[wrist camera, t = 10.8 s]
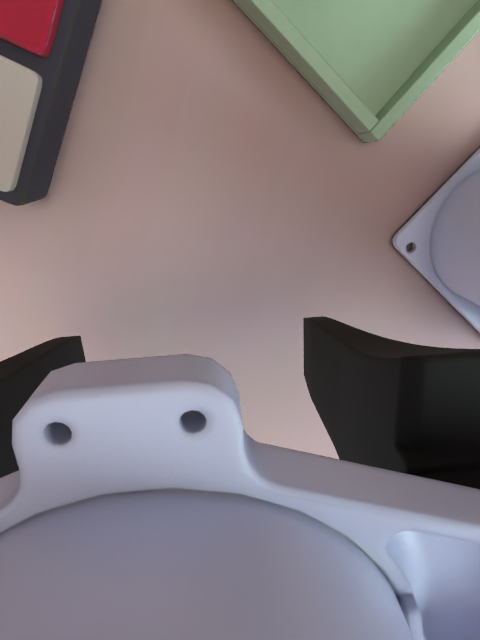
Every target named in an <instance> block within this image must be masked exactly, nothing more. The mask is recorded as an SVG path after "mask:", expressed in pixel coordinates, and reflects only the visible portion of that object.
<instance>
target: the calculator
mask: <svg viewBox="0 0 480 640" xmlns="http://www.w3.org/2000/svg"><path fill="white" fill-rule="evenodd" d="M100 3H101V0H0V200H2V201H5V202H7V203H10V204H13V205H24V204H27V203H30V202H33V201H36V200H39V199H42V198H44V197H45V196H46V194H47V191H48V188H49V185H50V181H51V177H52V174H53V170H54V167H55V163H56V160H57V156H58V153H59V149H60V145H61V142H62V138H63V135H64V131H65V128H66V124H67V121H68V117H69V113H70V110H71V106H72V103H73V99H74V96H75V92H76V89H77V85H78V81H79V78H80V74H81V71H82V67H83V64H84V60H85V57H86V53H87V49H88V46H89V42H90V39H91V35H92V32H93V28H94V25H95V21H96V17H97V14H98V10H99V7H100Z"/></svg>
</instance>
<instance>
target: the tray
mask: <svg viewBox="0 0 480 640" xmlns="http://www.w3.org/2000/svg"><path fill="white" fill-rule="evenodd" d="M233 1H234V2H235V3H236V5H237V6H238V7H239V8H240V9H241V10H242V11H243V12H244V13H245V14H246V15H247V16H248V18H249V19H250V20H251V21H252V22H253V23H254V24H255V25H256V26H257V27H258V28H259V29H260V31H261V32H262V33H263V34H264V35H265V36H266V37H267V38H268V39H269V40H270V41H271V42H272V44H273V45H274V46H275V47H276V48H277V49H278V50H279V51H280V52H281V53H282V54H283V55H284V57H285V58H286V59H287V60H288V61H289V62H290V63H291V64H292V65H293V66H294V67H295V68H296V70H297V71H298V72H299V73H300V74H301V75H302V76H303V77H304V78H305V79H306V80H307V81H308V83H309V84H310V85H311V86H312V87H313V88H314V89H315V90H316V91H317V92H318V93H319V94H320V96H321V97H322V98H323V99H324V100H325V101H326V102H327V103H328V104H329V105H330V106H331V107H332V109H333V110H334V111H335V112H336V113H337V114H338V115H339V116H340V117H341V118H342V119H343V120H344V122H345V123H346V124H347V125H348V126H349V127H350V128H351V129H352V130H353V131H354V132H355V133H356V135H357V136H358V137H359V138H360V139H361V140H362V141H363V142H364V143H367V142H374V141H379V140H380V139H381V138H382V137H383V136H384V135H385V134H386V133H387V132H388V130H389V129H390V128H391V127H392V126H393V125H394V124H395V123H396V122H397V121H398V119H399V118H400V117H401V116H402V115H403V114H404V113H405V112H406V111H407V110H408V108H409V107H410V106H411V105H412V104H413V103H414V102H415V101H416V100H417V99H418V97H419V96H420V95H421V94H422V93H423V92H424V91H425V90H426V89H427V87H428V86H429V85H430V84H431V83H432V82H433V81H434V80H435V79H436V78H437V76H438V75H439V74H440V73H441V72H442V71H443V70H444V69H445V68H446V67H447V65H448V64H449V63H450V62H451V61H452V60H453V59H454V58H455V57H456V56H457V54H458V53H459V52H460V51H461V50H462V49H463V48H464V47H465V46H466V44H467V43H468V42H469V41H470V40H471V39H472V38H473V37H474V36H475V35H476V33H477V32H478V31H479V30H480V0H233Z"/></svg>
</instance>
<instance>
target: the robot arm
mask: <svg viewBox="0 0 480 640" xmlns="http://www.w3.org/2000/svg"><path fill="white" fill-rule="evenodd" d="M409 243H412V244H413V246H412V249H411V250H409V251H407V250H406V246H407V245H408V244H409ZM393 245H394V247H395V248H396V249H397V250H398V251H399V252H400V253H401V254H402V255H403V256H404V257H405V258H406V259H407V260H408V261H409V262H410V263H411V264H412V265H413V266H414V267H415V268H416V269H417V270H418V271H419V272H420V273H421V274H422V275H423V276H424V277H425V278H426V279H427V280H428V281H429V282H430V283H431V284H432V285H433V286H434V287H435V288H436V289H437V290H438V291H439V292H440V293H441V294H442V296H443V297H444V298H445V299H446V300H447V301H448V302H449V303H450V304H451V305H452V306H453V307H454V308H455V309H456V310H457V311H458V312H459V313H460V314H461V315H462V316H463V317H464V318H465V319H466V320H467V321H468V322H469V323H470V324H471V325H472V326H473V327H474V328H475V329H476V330H477V331H478V332H479V333H480V148H479V149H478V150H477V151H476V152H475V153H474V154H473V155H472V156H471V157H470V158H469V159H468V160H467V161H466V162H465V163H464V164H463V165H462V166H461V168H460V169H459V170H458V171H457V172H456V173H455V174H454V175H453V176H452V177H451V178H450V179H449V180H448V181H447V182H446V183H445V184H444V185H443V186H442V187H441V188H440V189H439V190H438V191H437V192H436V193H435V194H434V195H433V196H432V197H431V198H430V199H429V200H428V201H427V202H426V203H425V204H424V205H423V206H422V207H421V209H420V210H419V211H418V212H417V213H416V214H415V215H414V216H413V217H412V218H411V219H410V220H409V221H408V222H407V223H406V224H405V225H404V226H403V227H402V228H401V229H400V230H399V231H398V232H397V233H396V234H395V236H394V237H393ZM304 376H305V379H306V383H307V387H308V390H309V393H310V396H311V399H312V401H313V403H314V405H315V407H316V409H317V411H318V413H319V415H320V418H321V420H322V422H323V424H324V426H325V428H326V430H327V432H328V434H329V436H330V438H331V440H332V442H333V444H334V446H335V449H336V451H337V454H338V456H339V459H340V460H339V459H334V458H330V457H325V456H320V455H316V454H311V453H306V452H301V451H297V450H292V449H287V448H283V447H278V446H273V445H268V444H264V443H259V442H256V441H255V440H253V439H252V438H251V437H250V436H249V435H247V434H246V432H245V430H244V429H243V424H242V416H241V408H240V400H239V393H238V390H237V388H236V385H235V383H234V380H233V377H232V375H231V373H230V372H229V371H228V370H226V369H225V368H224V367H222V366H221V365H220V364H219V363H217V362H216V361H215V360H213V359H212V358H208V357H201V356H195V355H188V354H181V355H169V356H156V357H144V358H132V359H120V360H107V361H95V362H86V361H85V356H84V351H83V347H82V342H81V337H80V336H71V337H60V338H55V339H52V340H49V341H47V342H44V343H42V344H39V345H37V346H35V347H33V348H30V349H28V350H26V351H24V352H22V353H19V354H17V355H15V356H13V357H10V358H8V359H6V360H3V361H1V362H0V640H480V349H452V348H439V347H430V346H422V345H415V344H409V343H405V342H400V341H396V340H391V339H387V338H384V337H380V336H377V335H374V334H371V333H368V332H365V331H362V330H359V329H357V328H354V327H352V326H349V325H347V324H344V323H341V322H339V321H336V320H334V319H331V318H328V317H311V318H304Z"/></svg>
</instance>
